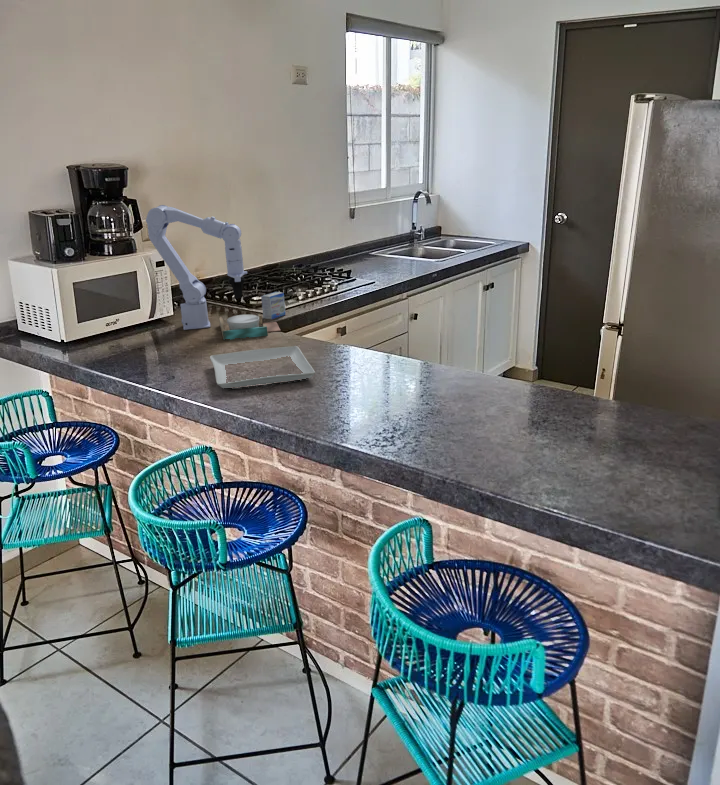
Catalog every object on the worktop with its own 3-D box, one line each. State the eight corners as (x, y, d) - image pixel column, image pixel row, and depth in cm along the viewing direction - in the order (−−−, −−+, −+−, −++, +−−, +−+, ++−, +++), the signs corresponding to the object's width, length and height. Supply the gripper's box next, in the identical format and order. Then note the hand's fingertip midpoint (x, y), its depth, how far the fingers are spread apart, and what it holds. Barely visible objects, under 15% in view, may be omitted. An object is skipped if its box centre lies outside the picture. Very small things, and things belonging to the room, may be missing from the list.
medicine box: (271, 319, 262) (269, 296, 259) (262, 318, 265) (260, 295, 262) (286, 315, 268) (284, 292, 265) (277, 313, 271) (275, 291, 268)
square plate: (218, 396, 190) (216, 383, 189) (210, 366, 215) (209, 354, 214) (317, 383, 197) (316, 370, 195) (298, 355, 222) (297, 343, 220)
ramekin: (255, 337, 241) (253, 322, 239) (223, 337, 243) (222, 322, 241) (264, 328, 251) (263, 314, 250) (234, 328, 253) (233, 314, 251)
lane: (223, 340, 240) (222, 331, 239) (220, 325, 258) (219, 317, 257) (282, 334, 244) (281, 325, 243) (274, 319, 262) (274, 312, 261)
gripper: (247, 262, 243) (251, 301, 248) (244, 255, 257) (247, 292, 262) (227, 264, 242) (231, 303, 247) (224, 257, 255) (228, 294, 260)
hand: (238, 297), depth 254 cm, fingers closed
